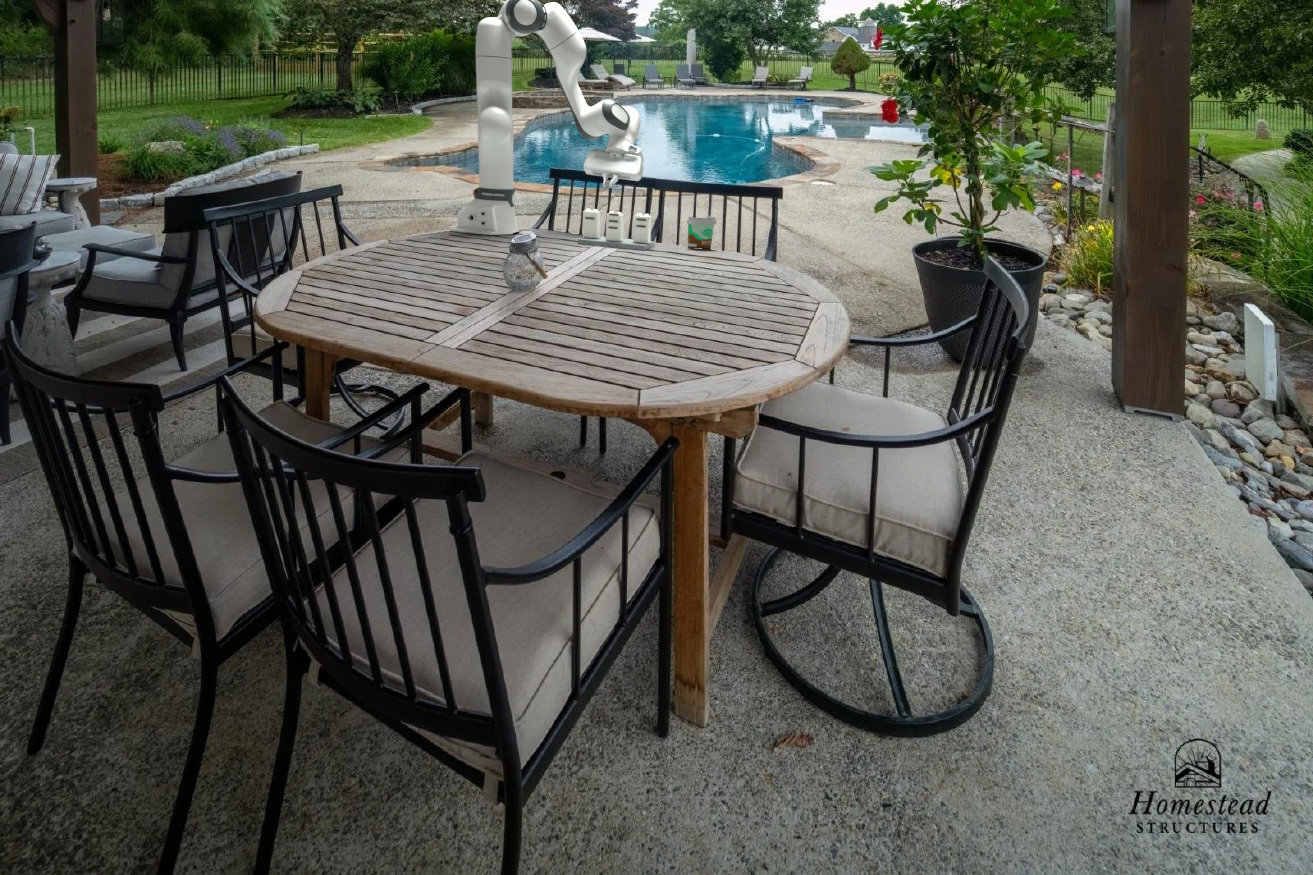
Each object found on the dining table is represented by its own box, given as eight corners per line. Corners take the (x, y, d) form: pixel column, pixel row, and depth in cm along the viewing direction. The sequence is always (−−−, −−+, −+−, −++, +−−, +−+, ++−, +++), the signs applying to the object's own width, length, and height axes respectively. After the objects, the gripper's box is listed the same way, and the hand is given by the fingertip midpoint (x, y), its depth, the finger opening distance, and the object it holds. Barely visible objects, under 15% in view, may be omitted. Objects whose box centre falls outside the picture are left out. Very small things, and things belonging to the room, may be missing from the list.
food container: (700, 251, 241) (703, 219, 237) (685, 248, 244) (687, 216, 241) (721, 248, 250) (724, 217, 246) (706, 246, 254) (708, 215, 250)
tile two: (632, 241, 238) (634, 213, 235) (635, 240, 241) (637, 212, 238) (647, 243, 237) (648, 214, 234) (650, 242, 240) (651, 213, 237)
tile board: (577, 243, 239) (578, 239, 239) (590, 239, 250) (590, 235, 250) (644, 250, 235) (644, 245, 234) (654, 246, 245) (654, 241, 245)
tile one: (582, 237, 242) (582, 208, 239) (585, 235, 245) (586, 208, 242) (596, 238, 241) (597, 210, 238) (599, 237, 244) (600, 209, 241)
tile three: (605, 240, 238) (606, 211, 235) (608, 238, 241) (609, 210, 238) (619, 241, 237) (620, 213, 234) (623, 240, 240) (624, 212, 237)
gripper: (587, 142, 254) (576, 176, 251) (645, 149, 250) (633, 184, 246) (592, 154, 260) (580, 188, 257) (648, 161, 256) (637, 196, 252)
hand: (607, 186), depth 252 cm, fingers closed
